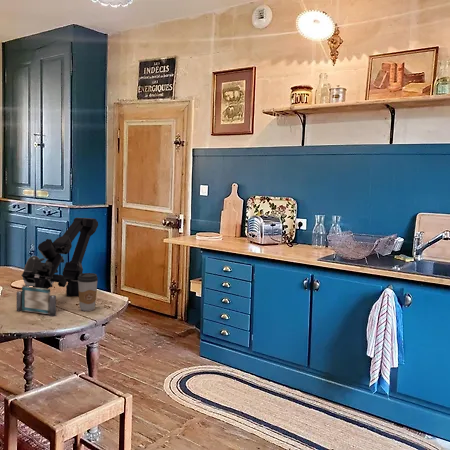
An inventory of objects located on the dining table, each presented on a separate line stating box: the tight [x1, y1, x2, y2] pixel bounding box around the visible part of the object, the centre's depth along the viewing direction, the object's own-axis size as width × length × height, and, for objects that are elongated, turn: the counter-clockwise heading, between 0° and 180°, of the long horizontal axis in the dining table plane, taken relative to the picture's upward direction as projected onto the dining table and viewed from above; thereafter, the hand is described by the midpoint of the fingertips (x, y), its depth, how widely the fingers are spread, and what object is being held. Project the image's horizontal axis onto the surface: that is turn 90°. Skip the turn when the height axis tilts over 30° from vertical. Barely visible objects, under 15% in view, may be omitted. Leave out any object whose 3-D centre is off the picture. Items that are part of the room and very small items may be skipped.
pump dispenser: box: [22, 255, 46, 286], centre depth 236 cm, size 10×10×15 cm
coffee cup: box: [78, 272, 99, 312], centre depth 202 cm, size 8×8×15 cm
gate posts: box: [16, 290, 57, 317], centre depth 194 cm, size 18×2×8 cm, turn 76°
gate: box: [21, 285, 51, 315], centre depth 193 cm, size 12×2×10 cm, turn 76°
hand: (35, 295), depth 195 cm, fingers closed
